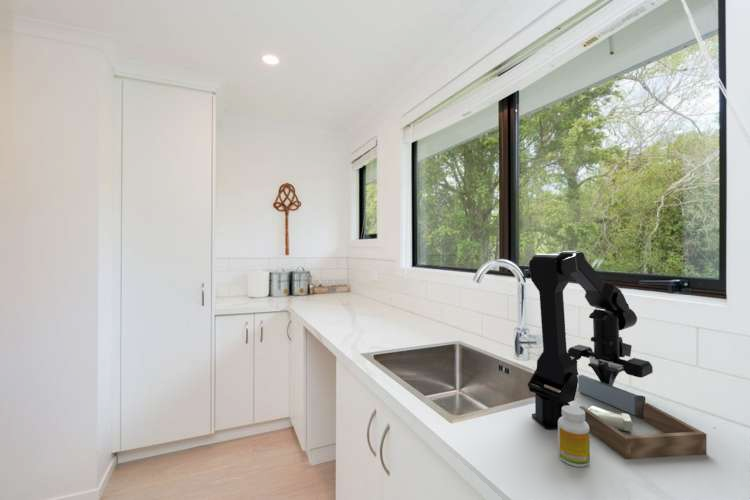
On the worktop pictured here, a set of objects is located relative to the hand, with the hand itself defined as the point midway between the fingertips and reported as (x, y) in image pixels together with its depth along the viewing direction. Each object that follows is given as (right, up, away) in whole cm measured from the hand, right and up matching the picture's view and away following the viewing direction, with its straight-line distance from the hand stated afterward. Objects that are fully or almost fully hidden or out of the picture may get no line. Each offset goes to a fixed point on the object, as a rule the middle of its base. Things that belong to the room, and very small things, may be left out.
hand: (608, 391), depth 94 cm
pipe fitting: (-9, -3, -13) cm, 16 cm away
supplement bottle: (-24, -3, -26) cm, 35 cm away
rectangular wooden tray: (-6, -2, -18) cm, 19 cm away
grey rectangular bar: (-2, -2, -2) cm, 3 cm away
